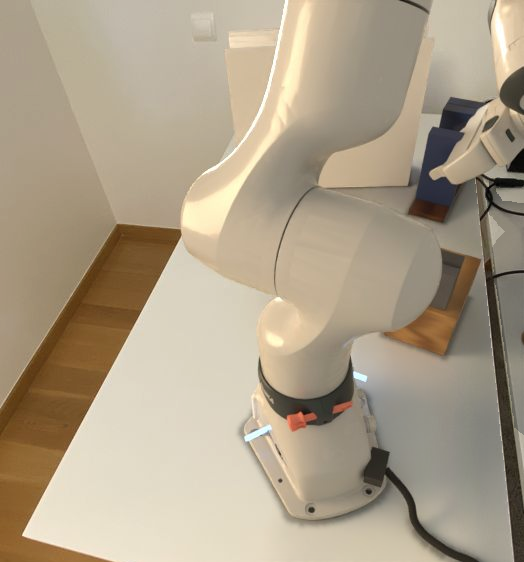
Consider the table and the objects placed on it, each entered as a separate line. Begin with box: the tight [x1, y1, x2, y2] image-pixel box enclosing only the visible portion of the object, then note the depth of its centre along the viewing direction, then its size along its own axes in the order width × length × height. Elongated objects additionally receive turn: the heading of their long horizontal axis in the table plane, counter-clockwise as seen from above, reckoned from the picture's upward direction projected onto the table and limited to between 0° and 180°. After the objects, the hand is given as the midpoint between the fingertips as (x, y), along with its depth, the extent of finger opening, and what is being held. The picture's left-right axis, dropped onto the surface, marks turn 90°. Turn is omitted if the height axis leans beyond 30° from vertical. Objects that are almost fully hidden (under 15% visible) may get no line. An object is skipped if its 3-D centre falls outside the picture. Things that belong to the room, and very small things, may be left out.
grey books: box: [429, 250, 465, 311], centre depth 71 cm, size 6×4×8 cm, turn 62°
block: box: [223, 18, 436, 189], centre depth 97 cm, size 35×8×28 cm, turn 86°
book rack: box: [407, 96, 489, 224], centre depth 96 cm, size 7×18×15 cm, turn 151°
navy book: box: [414, 126, 465, 207], centre depth 94 cm, size 7×2×14 cm, turn 62°
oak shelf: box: [382, 247, 483, 357], centre depth 80 cm, size 10×14×9 cm
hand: (439, 160), depth 93 cm, fingers open, 8 cm apart
